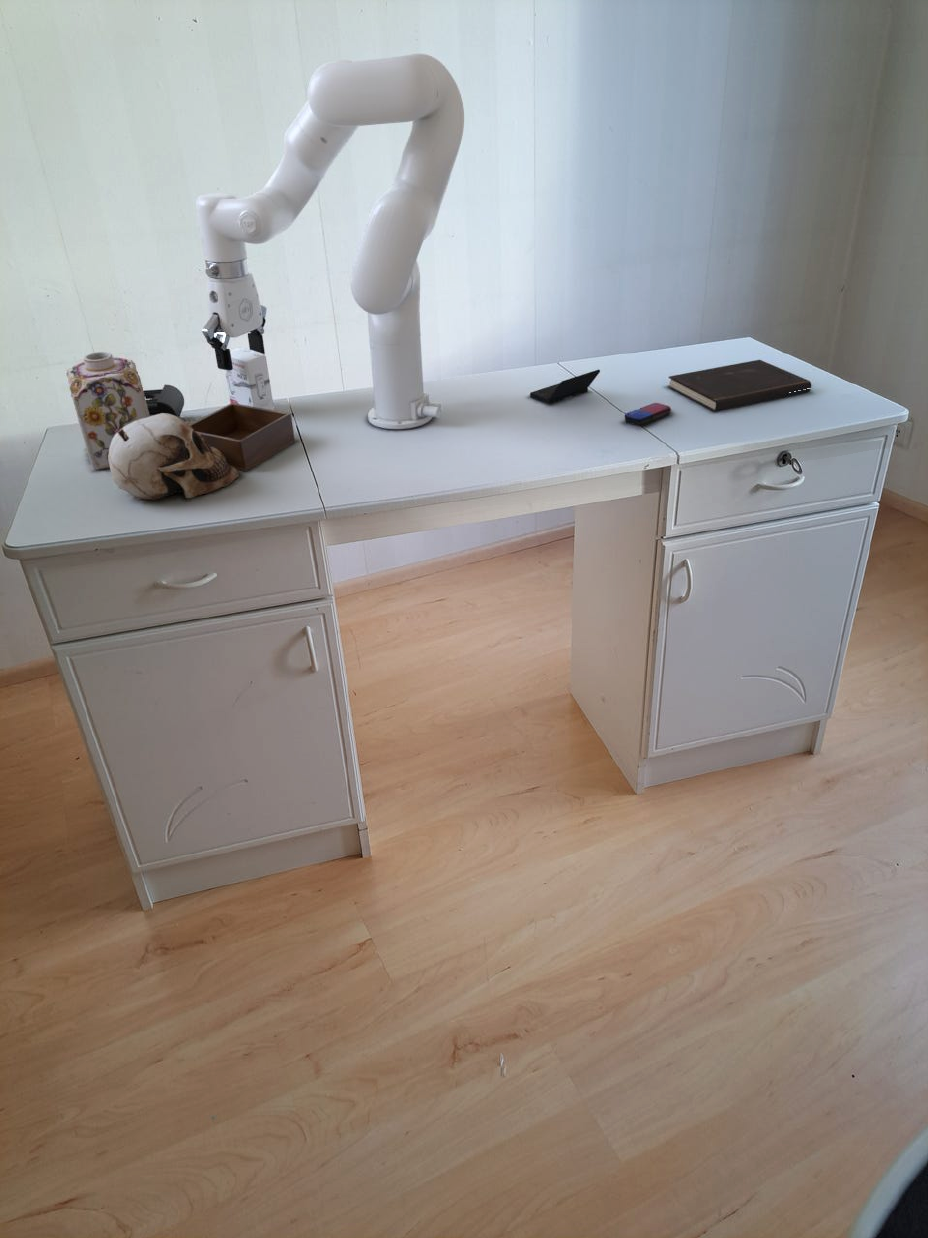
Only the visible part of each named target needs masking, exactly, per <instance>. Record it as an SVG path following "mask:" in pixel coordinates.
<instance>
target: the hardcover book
mask: <svg viewBox="0 0 928 1238" xmlns="http://www.w3.org/2000/svg"><path fill="white" fill-rule="evenodd" d="M668 379H669V380H670V381H669V385H667V388H668V389H670V390H672V391H674V392H675V393H678V394H680V395H681V396H683V397H685V398H687V399H689V400H691V401H693V402H695V403H696V404H698V405H700V406H702V407H704V408H705V409H708V410H709V411H711V412H719V411H723V410H728V409H733V408H738V407H744V406H748V405H753V404H757V403H762V402H768V401H771V400H773V401H774V400H777V399H778V400H779V399H782V398H787V397H792V396H796V395H801V394H807V393H810V392H811V389H812V382H811V381H810V380H809V379H806V378H804V377H802V376H800V375H797V374H794V373H792V372H790V371H787V370H785V369H783V368H780V367H778V366H776V365H773V364H771V363H769V362H767V361H765V360H762V359H755V360H750V361H745V362H739V363H733V364H729V365H728V364H727V365H723V366H718V367H712V368H706V369H702V370H695V371H691V372H686V373H681V374H680V373H679V374H675V375H670V376H668ZM807 388H811V389H807ZM803 389H806V390H803ZM798 390H801V391H798ZM794 391H796V392H794ZM789 392H791V393H789Z"/></svg>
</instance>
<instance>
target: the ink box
mask: <svg viewBox="0 0 928 1238" xmlns="http://www.w3.org/2000/svg"><path fill="white" fill-rule="evenodd" d="M230 354H231V360H232V366H233V369H232V370H230V371H228V370H224V374H225V379H226V385H227V391H228V396H229V402H230V403H229V404H231V403H235V404H240V405H246V406H252V407H257V408H263V409H269V410H274V411H275V406H274V399H273V393H272V386H271V380H270V373H269V367H268V362H267V356H266V355H264V354H262V353H259V352H256V351H253V350H250V348H247V347H242V346H241V347H237V348H234V349H232V350H230Z"/></svg>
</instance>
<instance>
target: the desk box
mask: <svg viewBox="0 0 928 1238" xmlns="http://www.w3.org/2000/svg"><path fill="white" fill-rule="evenodd" d="M189 424H190V425H191V427H192V428H193V429H194V430H195V432H196V433H200V434H201V438H204V439H205V441H206V443H207V444H208V445H209V446H210V447H214V448H216V449H218V450H219V451H220V452H221V453H222V454H223V456H224V457H225V459H226V462H227V464H228V465H231V466H232V467H234V468H235V469H236V470H237V471H242V472H248V471H250V470H251V469H253V468H254V467H256V466H258V465H260V464H261V463H262V462H264V461H266V460H268V459H269V458H271V457H273V456H274V455H276V454H278V453H279V452H281V451H282V450H285V448H287V447H289V446H290V445H292V444H294V443H295V442H296V439H295V431H294V425H293V418H292V413H291V412H285V411H280V410H275V409H274V410H269V409H263V408H257V407H252V406H246V405H240V404H235V403H229V404H227V405H225V406H223V407H221V408H219V409H217V410H215V411H213V412H211V413H209V414H208V415H206V416H204V417H202V418H200V419H198V420H196V421H194V422H192V423H189Z"/></svg>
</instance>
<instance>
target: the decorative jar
mask: <svg viewBox="0 0 928 1238" xmlns="http://www.w3.org/2000/svg"><path fill="white" fill-rule="evenodd" d="M66 378H67V379H68V380H67V381H68V384H69V385H68V386H69V391H70V397H71V398H72V399H71V400H72V401H73V405H74V410H75V413H76V417H77V419H78V423H79V426H80V431H81V434H82V437H83V441H84V445H85V448H86V452H87V454H88V458H89V461H90V465H91V468H92V470H94V471H100V470H105V469H110V464H109V460H108V455H109V448H110V444H111V442H112V439H113V438H114V436H115V434H116V433H117V432H118V431H119V430H121V429H122V428H123V427H125V426H126V425H128V424H130V423H132V422H134V421H136V420H139V419H143V418H147V417H149V416H150V415H149V411H148V407H147V403H146V400H147V399H146V398H145V396H144V392H143V391H144V389H143V388H144V387H143V384H142V380H141V377H140V375H139V372H138V370H137V365H136V363H135V362H134V361H133V360H132V359H128V358H123V357H118V356H117V357H114V355H113V354H112V353H111V352H107V351H96V352H91V353H88V354H86V355H84V356H83V361H82V362H80V363H78V364H76V365H73V366H72V367H69V368H68V369H67V370H66Z"/></svg>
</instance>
